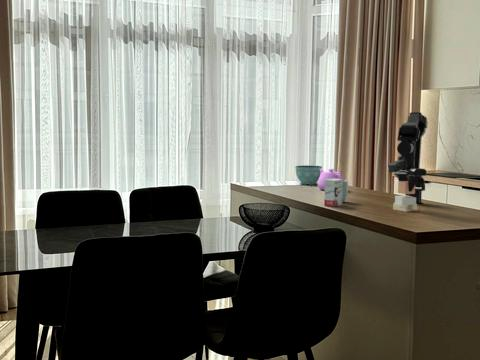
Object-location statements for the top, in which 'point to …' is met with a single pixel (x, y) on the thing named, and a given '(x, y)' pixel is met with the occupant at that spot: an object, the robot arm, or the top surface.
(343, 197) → the cup
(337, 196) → the ink box
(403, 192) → the cube
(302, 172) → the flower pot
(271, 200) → the top surface
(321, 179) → the teapot
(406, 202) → the tower top
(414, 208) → the tower base
